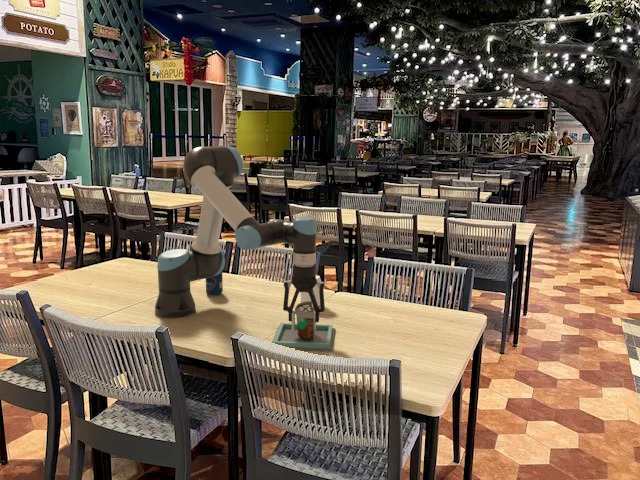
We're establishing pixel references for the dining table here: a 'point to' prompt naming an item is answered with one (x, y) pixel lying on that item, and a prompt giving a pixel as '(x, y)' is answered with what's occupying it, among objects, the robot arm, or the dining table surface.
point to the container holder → (292, 340)
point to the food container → (305, 320)
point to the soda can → (214, 285)
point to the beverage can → (306, 296)
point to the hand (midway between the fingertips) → (303, 330)
